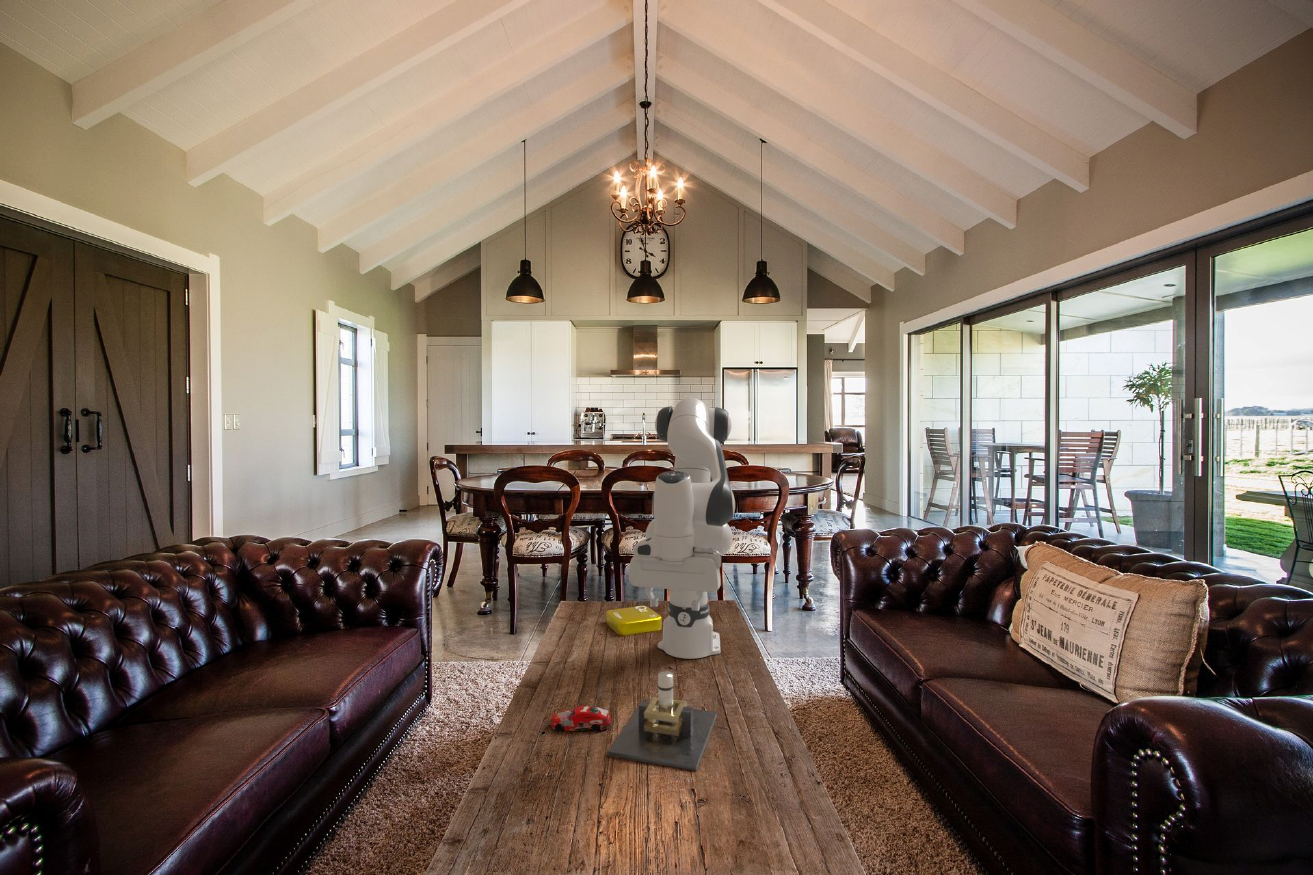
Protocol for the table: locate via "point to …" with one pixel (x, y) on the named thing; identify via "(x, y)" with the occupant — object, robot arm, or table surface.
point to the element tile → (634, 620)
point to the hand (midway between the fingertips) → (674, 608)
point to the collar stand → (665, 735)
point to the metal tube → (665, 694)
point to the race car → (581, 719)
